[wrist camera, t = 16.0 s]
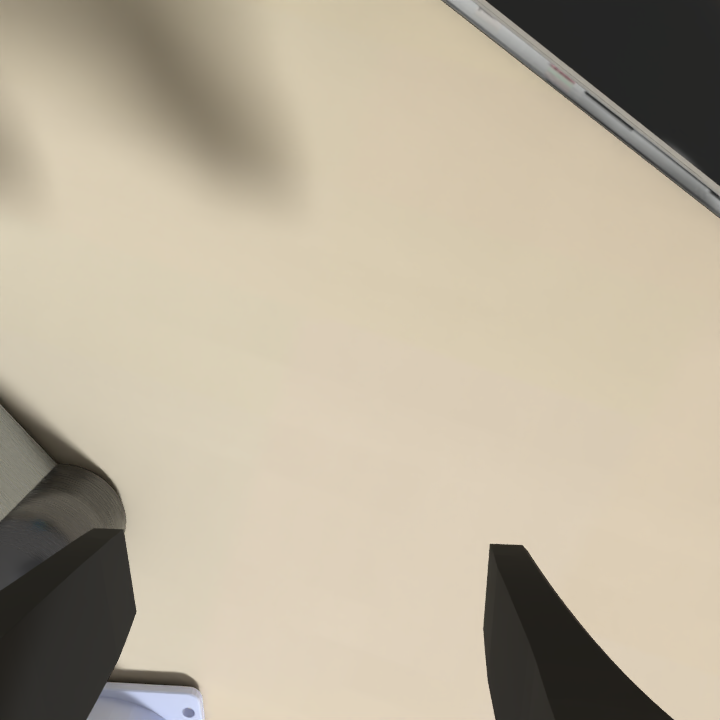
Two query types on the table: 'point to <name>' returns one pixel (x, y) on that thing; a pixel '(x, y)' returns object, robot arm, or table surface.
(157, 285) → the table surface
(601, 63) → the book
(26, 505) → the crank
